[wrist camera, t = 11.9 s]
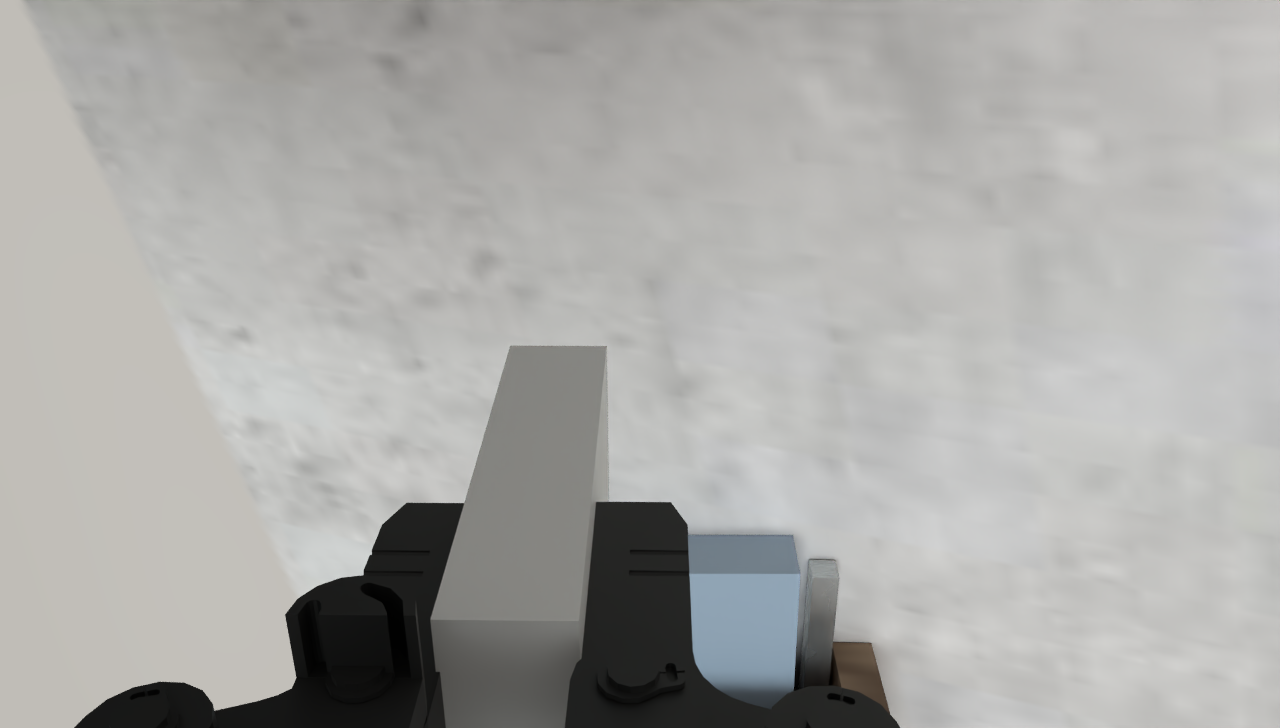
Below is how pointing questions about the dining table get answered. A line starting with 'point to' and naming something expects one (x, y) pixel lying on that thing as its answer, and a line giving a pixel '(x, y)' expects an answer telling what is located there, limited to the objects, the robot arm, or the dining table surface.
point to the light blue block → (745, 614)
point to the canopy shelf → (828, 658)
